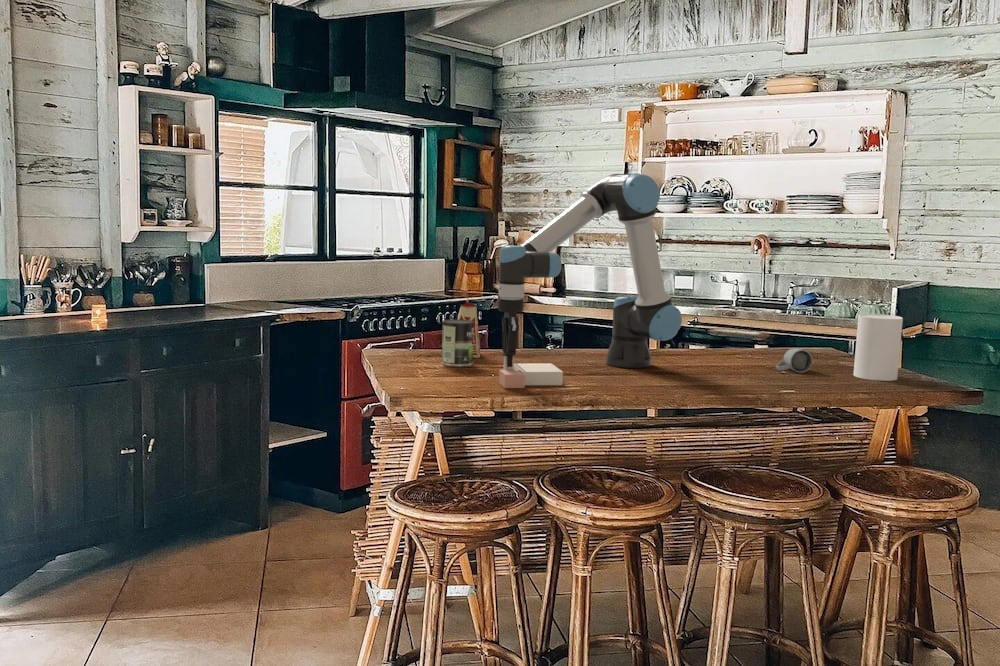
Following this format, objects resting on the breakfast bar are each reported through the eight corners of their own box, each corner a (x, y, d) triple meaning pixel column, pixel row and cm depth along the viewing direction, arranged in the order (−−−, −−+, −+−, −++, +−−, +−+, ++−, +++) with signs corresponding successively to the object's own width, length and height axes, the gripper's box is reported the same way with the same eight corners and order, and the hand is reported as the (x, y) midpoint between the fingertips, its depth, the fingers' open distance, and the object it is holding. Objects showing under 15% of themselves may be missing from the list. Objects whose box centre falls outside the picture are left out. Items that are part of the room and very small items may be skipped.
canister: (844, 373, 327) (849, 314, 324) (875, 372, 332) (880, 313, 329) (874, 381, 314) (880, 319, 312) (906, 379, 320) (912, 318, 317)
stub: (518, 382, 293) (519, 368, 292) (524, 388, 285) (525, 373, 284) (498, 382, 292) (499, 368, 291) (504, 388, 284) (504, 373, 283)
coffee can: (475, 362, 326) (477, 320, 324) (468, 367, 316) (470, 324, 314) (445, 360, 328) (446, 318, 326) (437, 365, 318) (438, 322, 316)
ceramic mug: (802, 368, 334) (803, 346, 333) (812, 372, 326) (813, 350, 325) (772, 368, 333) (773, 346, 332) (781, 373, 325) (782, 350, 324)
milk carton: (479, 357, 335) (481, 299, 332) (452, 356, 335) (454, 298, 332) (480, 353, 344) (482, 296, 341) (454, 352, 344) (455, 295, 341)
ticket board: (550, 376, 305) (551, 362, 305) (562, 385, 292) (562, 371, 291) (513, 376, 303) (513, 362, 302) (522, 385, 289) (523, 371, 289)
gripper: (494, 295, 295) (491, 372, 298) (502, 300, 282) (499, 381, 286) (518, 295, 296) (515, 372, 300) (528, 300, 284) (525, 381, 287)
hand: (508, 376), depth 293 cm, fingers closed
